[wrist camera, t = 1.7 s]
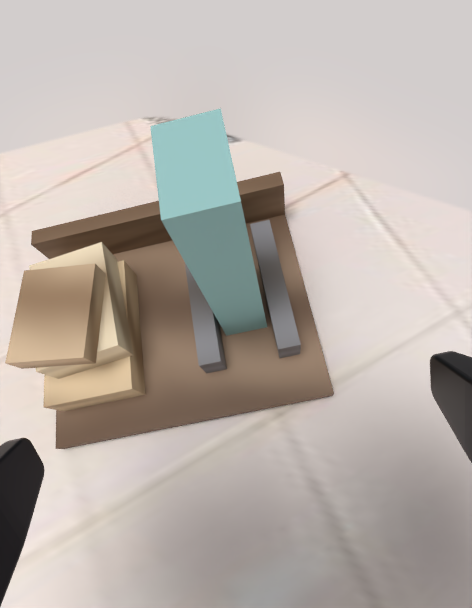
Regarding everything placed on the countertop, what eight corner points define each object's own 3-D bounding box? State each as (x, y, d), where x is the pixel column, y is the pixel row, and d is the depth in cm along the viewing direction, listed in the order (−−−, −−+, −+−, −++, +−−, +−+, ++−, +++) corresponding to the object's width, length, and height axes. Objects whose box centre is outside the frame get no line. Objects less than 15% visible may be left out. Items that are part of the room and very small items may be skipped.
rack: (332, 395, 21) (346, 374, 16) (63, 448, 22) (-13, 446, 17) (281, 209, 26) (278, 144, 21) (65, 259, 27) (7, 210, 22)
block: (267, 327, 22) (240, 201, 11) (226, 335, 22) (161, 220, 11) (254, 268, 24) (220, 108, 13) (216, 277, 24) (150, 126, 13)
